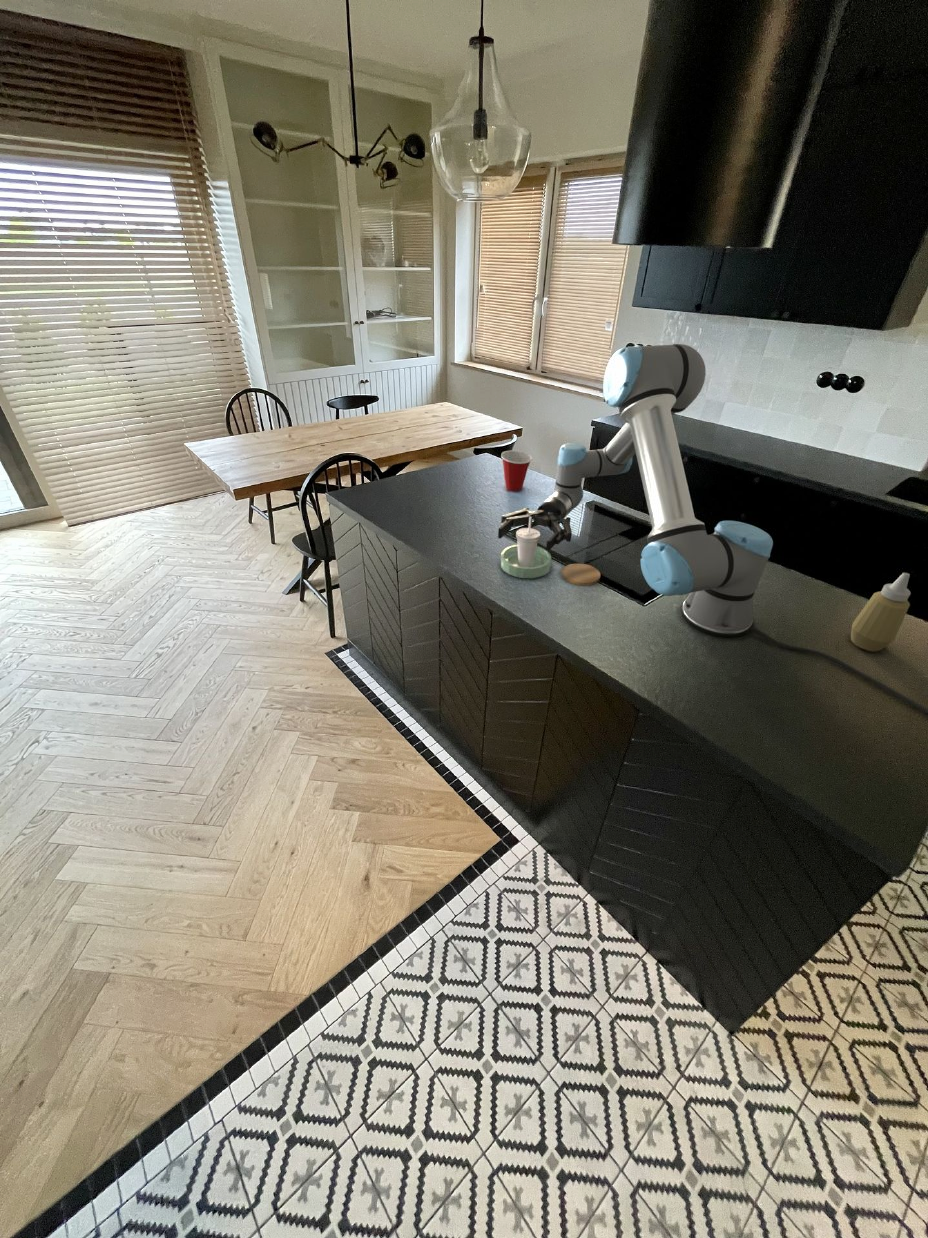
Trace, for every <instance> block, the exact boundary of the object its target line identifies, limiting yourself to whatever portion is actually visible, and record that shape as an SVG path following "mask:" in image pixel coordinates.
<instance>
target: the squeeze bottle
mask: <svg viewBox="0 0 928 1238" xmlns="http://www.w3.org/2000/svg"><path fill="white" fill-rule="evenodd" d="M910 575H911V574H910V573H908V572H902V574H900V575H899V577H897V579H895V581H893V583H885V584H884V585H883V587H882V589H881V591H876V592H874V593H873V594H872V596H871V597H870V598H869V600H868V601H867V602H866V604H865V605H864V606H863V608H862V610H861V611H860V612H859V614H858V615H857V616H856V618H855V619H854V621H853V622H852V623H851V634H850V640H851V642H852V643H853V644H854V646H856V647H858V648H860V649H862V650H865V651H869V652H879V651H881V650H883V649H884V648H886V647H887V646H888V645H890V644H891V643H892V642H894V641H895V640H896V637H897V635H898V633H899V631H900V628H901V626H902V624H903V622H904V619H905V618H906V615H907V612H908V610H909V608H910V606H911V603H910V602H909V600H908V599H909V597H910V596H911V594H912V593H911V591H910V590H909V588H908V583H909V579H910Z"/></svg>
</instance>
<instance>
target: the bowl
mask: <svg viewBox="0 0 928 1238" xmlns="http://www.w3.org/2000/svg"><path fill="white" fill-rule="evenodd" d="M552 559H553V558H552V555H551V553H550V551H546V548H543V547H542V546H538V545H537V548H536V552H535V556H534V561H533V565H532V567H520V566H519V563H518V546H517V544H513V545H510V546H507V547H506V548H504V549H503V550H502V552H501V553H500V568H501V569H502V570H503V572H505V573H506V574H508V575H510V576H511V577H512V576H513V577H515V578H521V579H535V578H536V579H537V578H541V577H543V576H545V575H547V574H548V573H549V572H550V570H551V567H552Z"/></svg>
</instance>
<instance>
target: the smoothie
mask: <svg viewBox="0 0 928 1238" xmlns="http://www.w3.org/2000/svg"><path fill="white" fill-rule="evenodd" d="M531 519H532V517H529V524H528V527H522V528H519V529H518V530H516V532H515V538H516V545H517V546H518V563H519V566H520V567H532V565H533V561H534V556H535V552H536V548H537V546H538V544H539V540H540V539H541V532H540V531H539V530H538V529H535V528H532V526H531ZM532 520H533V519H532Z"/></svg>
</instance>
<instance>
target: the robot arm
mask: <svg viewBox="0 0 928 1238" xmlns="http://www.w3.org/2000/svg"><path fill="white" fill-rule="evenodd" d="M705 381H706V364H705V361H704V358H703V357H702V355H701V354H700V353H699V352H698V351H697V349H696V348H694V347H692V346H690V345H687V344H684V343H673V344H657V345H640V344H636V345H634V346H625V347H622V348H619V349H618V350H617V351H615V352H614V353H613V354H612V356H611V358H610V359H609V361H608V363H607V366H606V369H605V372H604V375H603V381H602V393H603V398H604V402H605V403H606V404H607V405H608V406H609V407H612V408H618V413H619V417H620V420H621V421H623V422H624V425H623V426H622V427H621V429H620V430H619V431H618V432H617V433H616V435H614V437H613V438H612V439H611V440H610V441H609V442H608V444H606V446H605V447H604V448H600V449H592V450H591V449H590V450H587V448H586V446H585V445H583V444H582V443H581V444H580V443H572V442H569V443H564V444H562V445H561V446H560V448H559V452H558V456H557V462H556V464H557V465H556V477H555V482H554V483H555V484H554V492H553V493H552V494H550V495H549V497H548V498H546V499H545V500H544V501H542V503H541V504H540V505H539V506H538V508H536V510H533V511H532V510H530V508H529V507H524V508H522V509H520V510H516V511H513V512H509V513H506V514H502V515H501V516H500V517H501V520H500V523H501V524H500V527H499V528H498V530H497V531H498V532H497V538H498V539H503V537H504V536H505V535H507V534H508V533H509V532H510V531H511V530H512V528H515V527H521V526H529V517H532V519H531V527H532V526H542V527H543V528H548V529H549V531H551V532H553V534H552V535H551V536H550V537H549V538H548V539H547V540H546V546H545V550H546V551H548V552H550V551H551V549H553V548H554V546H555V545H560V544H561V542H563V541H566V542H568V543H569V542H571V541H572V537H573V536H572V535H573V531H572V527H571V517H569V516H568V515H570V513H571V512H572V511H573V510H574V509H576V508H577V507H578V506H579V505H580V503H581V501H583V498H584V488H583V486H582V483H583V479H586V478H594V477H604V476H617V475H620V474H625V473H628V472H629V470H630V469H631V466H632V465H633V457H634V456H635V455H636V461H637V464H638V469H639V475H640V478H641V482H642V487H643V488H642V489H643V491H644V497H645V500H646V506H647V511H648V515H649V519H650V523H651V531H650V532H649V534H648V535H647V537H646V540H647V545H645V546H644V548H643V549H642V551H641V554H640V556H641V558H640V567H641V573H642V575H643V578H644V580H645V581H646V583H647V584H648V586H649V587H650V588H651V589H652V590H653V591H655V592H656V593H657V594H659V595H662V596H664V597H665V596H667V597H671V596H684V595H688V594H689V595H688V596H687V597H686V598H685V600H684V601H683V604H682V606H681V616H682V617H683V619H684V620H685V622H687V624H689V625H690V627H692V628H694V629H696V630H698V631H700V632H702V633H705V634H707V635H711V636H715V637H719V638H737V637H741V636H744V635H746V634H747V633H748V632H749V631H751V632H753V633H755V634H756V635H759V636H761V637H762V638H764V639H765V640H767V641H769V642H770V643H772V644H774V645H776V646H779V647H782V648H785V649H788V650H793V651H797V652H802V653H803V652H804V653H809V654H813V655H816V656H819V657H822V658H825V659H827V660H829V661H831V662H833V663H835V664H837V665H838V666H839V665H840V667H843V668H844V669H847V670H848V671H850V672H852V673H853V674H855V675H857V676H859V677H861V678H863V679H864V680H866V681H868V682H870V683H872V684H874V685H875V686H877V687H879V688H880V689H882V690H884V691H886V692H888V693H890V694H891V695H893V696H894V697H896V698H898V699H900V700H902V701H904V702H905V703H907V704H909V705H910V706H912V707H914V708H916V709H917V710H919V711H921V712H923V713H924V714H926V715H928V708H927V707H925V706H923V705H921V704H920V703H918V702H916V701H914V700H913V699H910V698H909V697H907V696H905V695H903V694H902V693H900V692H898V691H897V690H895V689H893V688H891V687H890V686H887V685H886V684H884V683H882V682H881V681H879V680H876V679H875V678H873V677H871V676H869V675H867V674H866V673H864V672H862V671H860V670H858V669H856V668H854V667H853V666H851V665H849V664H848V663H845V662H844V661H842V660H840V659H838V658H836V657H834V656H832V655H829V654H827V653H825V652H822V651H819V650H815V649H812V648H807V647H801V646H796V645H792V644H791V645H790V644H788V643H784V642H781V641H778V640H776V639H775V638H773V637H771V636H770V635H768V634H766V633H764V632H763V631H761V630H759V629H757V628H755V627H753V626H752V624H753V622H754V595H755V592H756V591H757V588H758V585H759V583H760V581H761V578H762V576H763V573H764V571H765V568H766V566H767V564H768V560H769V559H770V557H771V552H772V549H773V545H774V540H773V537H772V536H771V535H770V533H768V532H766V531H764V530H763V529H761V528H759V527H757V526H755V525H752V524H749V523H746V522H741V521H738V520H737V521H736V520H722V521H719V522H718V523H717V524H716V526H715V527H714V532H713V533H710V534H709V533H707V530H706V525H705V522H703V521H701V520H699V519H697V518H696V517H695V513H694V508H693V503H692V498H691V495H690V490H689V485H688V481H687V477H686V473H685V468H684V464H683V459H682V454H681V451H680V446H679V441H678V437H677V433H676V428H675V423H674V420H673V417H674V415H675V414H678V413H682V412H683V411H686V409H687V408H688V407H689V406H691V404H692V403H693V402H694V401H695V400H696V398H697V397H698V396H699V394H700V393H701V391H702V389H703V387H704V384H705ZM567 516H568V517H567ZM560 524H561V525H560Z"/></svg>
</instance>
